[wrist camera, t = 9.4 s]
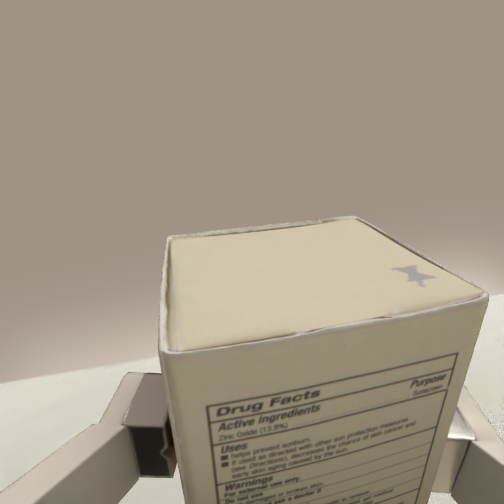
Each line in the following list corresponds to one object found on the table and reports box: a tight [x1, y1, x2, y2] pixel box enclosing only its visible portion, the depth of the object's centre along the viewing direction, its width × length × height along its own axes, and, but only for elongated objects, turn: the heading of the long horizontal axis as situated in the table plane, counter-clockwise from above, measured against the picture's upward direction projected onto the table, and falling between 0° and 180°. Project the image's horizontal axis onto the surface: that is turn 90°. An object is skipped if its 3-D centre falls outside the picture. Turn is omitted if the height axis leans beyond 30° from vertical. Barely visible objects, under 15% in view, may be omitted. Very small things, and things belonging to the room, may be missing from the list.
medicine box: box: [158, 216, 489, 504], centre depth 8 cm, size 5×4×10 cm
